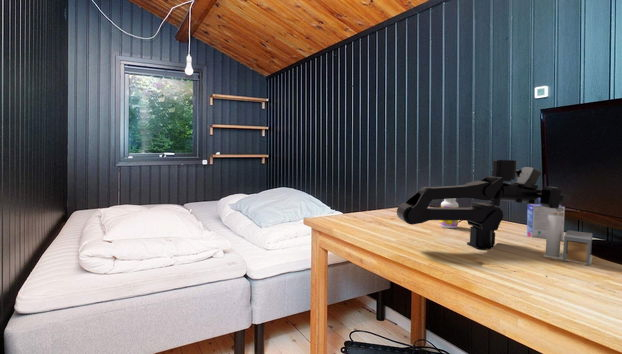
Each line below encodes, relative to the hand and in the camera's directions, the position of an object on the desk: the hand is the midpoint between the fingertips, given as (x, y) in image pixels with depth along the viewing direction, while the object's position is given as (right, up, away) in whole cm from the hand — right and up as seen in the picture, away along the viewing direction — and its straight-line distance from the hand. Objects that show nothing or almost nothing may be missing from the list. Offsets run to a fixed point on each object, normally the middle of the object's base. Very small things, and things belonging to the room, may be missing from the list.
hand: (558, 195), depth 105 cm
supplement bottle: (-23, -15, +28) cm, 39 cm away
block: (-7, -16, -17) cm, 24 cm away
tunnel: (-7, -18, -16) cm, 25 cm away
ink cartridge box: (+2, -16, +9) cm, 19 cm away
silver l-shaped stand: (-9, -17, -15) cm, 25 cm away
